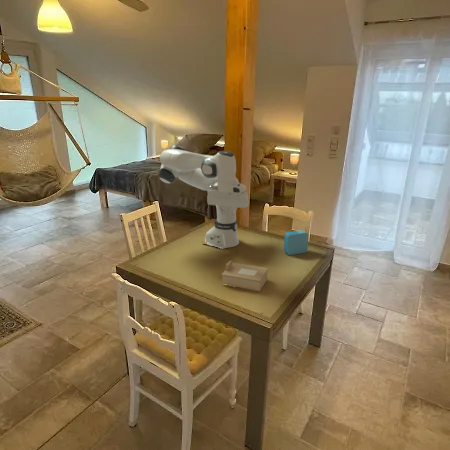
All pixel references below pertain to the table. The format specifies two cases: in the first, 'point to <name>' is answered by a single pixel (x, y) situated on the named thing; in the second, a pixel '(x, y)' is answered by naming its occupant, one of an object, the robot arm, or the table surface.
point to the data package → (296, 242)
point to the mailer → (245, 282)
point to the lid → (244, 271)
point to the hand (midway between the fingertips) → (228, 214)
